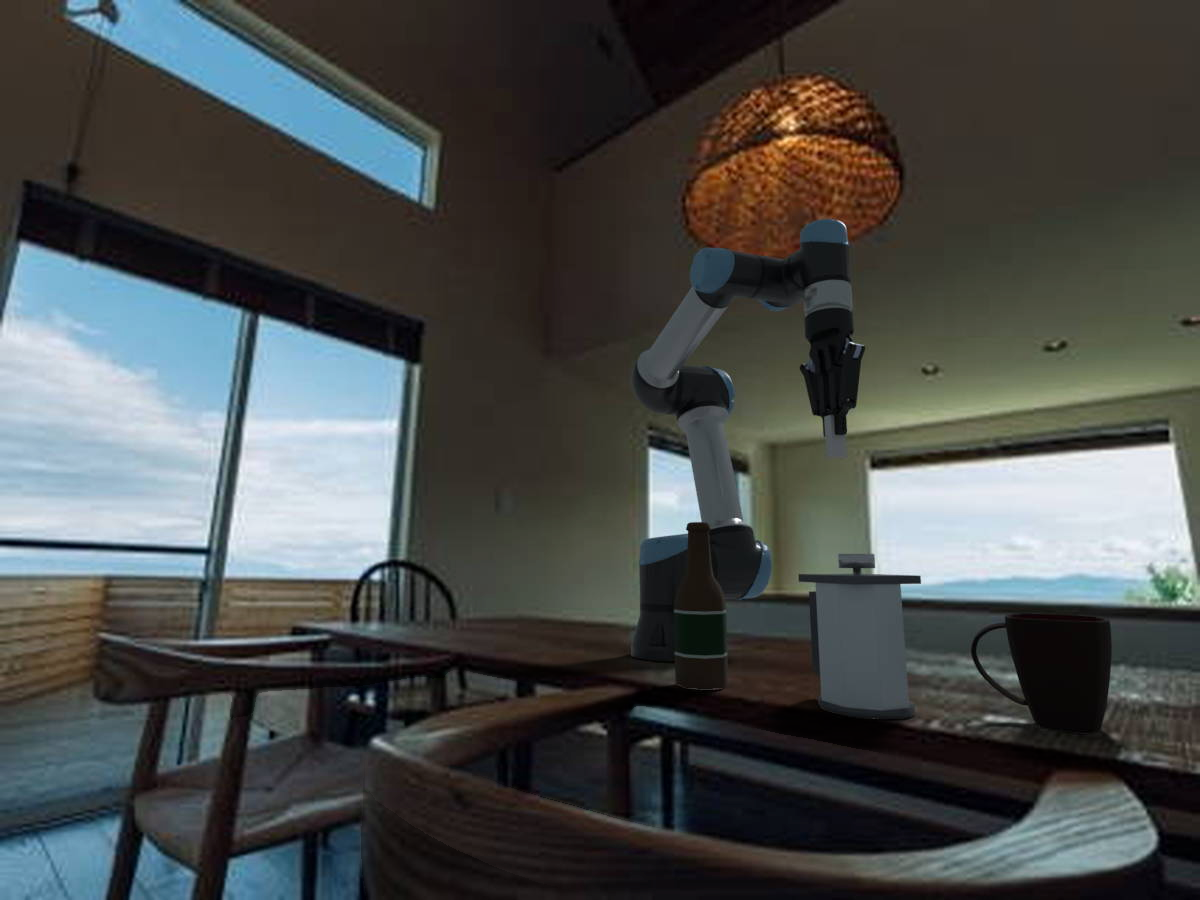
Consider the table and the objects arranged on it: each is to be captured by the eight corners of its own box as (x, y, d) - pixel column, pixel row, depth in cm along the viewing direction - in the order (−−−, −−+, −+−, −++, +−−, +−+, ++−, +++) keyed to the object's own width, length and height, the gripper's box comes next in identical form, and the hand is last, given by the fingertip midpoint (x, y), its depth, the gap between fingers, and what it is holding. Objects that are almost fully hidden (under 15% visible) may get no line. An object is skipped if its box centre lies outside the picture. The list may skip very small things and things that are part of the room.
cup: (1124, 744, 66) (1109, 623, 68) (969, 723, 74) (960, 615, 76) (1123, 725, 74) (1110, 616, 76) (983, 707, 82) (974, 610, 84)
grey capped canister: (785, 698, 87) (780, 573, 90) (852, 692, 91) (845, 573, 94) (862, 723, 74) (853, 576, 77) (936, 715, 78) (925, 575, 81)
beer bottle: (696, 679, 101) (693, 524, 105) (739, 686, 95) (734, 522, 99) (664, 686, 95) (662, 522, 99) (707, 693, 90) (703, 520, 94)
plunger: (834, 621, 84) (830, 553, 86) (861, 620, 86) (857, 554, 87) (858, 624, 80) (854, 553, 82) (886, 623, 82) (882, 553, 83)
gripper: (784, 324, 111) (790, 461, 107) (837, 295, 99) (846, 448, 95) (820, 330, 113) (827, 463, 109) (876, 302, 101) (886, 452, 97)
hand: (836, 456), depth 102 cm, fingers closed
